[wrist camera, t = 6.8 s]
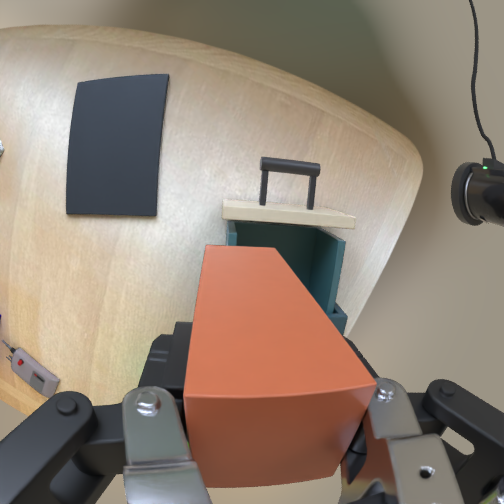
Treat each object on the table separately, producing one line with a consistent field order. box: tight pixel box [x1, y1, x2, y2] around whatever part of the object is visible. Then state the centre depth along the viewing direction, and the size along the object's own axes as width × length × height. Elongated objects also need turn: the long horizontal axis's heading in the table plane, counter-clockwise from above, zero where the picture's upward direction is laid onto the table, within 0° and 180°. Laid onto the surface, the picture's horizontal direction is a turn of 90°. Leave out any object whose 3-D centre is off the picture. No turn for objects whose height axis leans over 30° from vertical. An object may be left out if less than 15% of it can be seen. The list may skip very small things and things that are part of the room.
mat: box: [66, 74, 169, 216], centre depth 30 cm, size 18×13×1 cm
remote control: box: [2, 340, 60, 398], centre depth 36 cm, size 7×16×3 cm, turn 52°
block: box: [183, 245, 377, 488], centre depth 11 cm, size 4×4×12 cm
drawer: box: [222, 157, 356, 314], centre depth 31 cm, size 18×13×8 cm
